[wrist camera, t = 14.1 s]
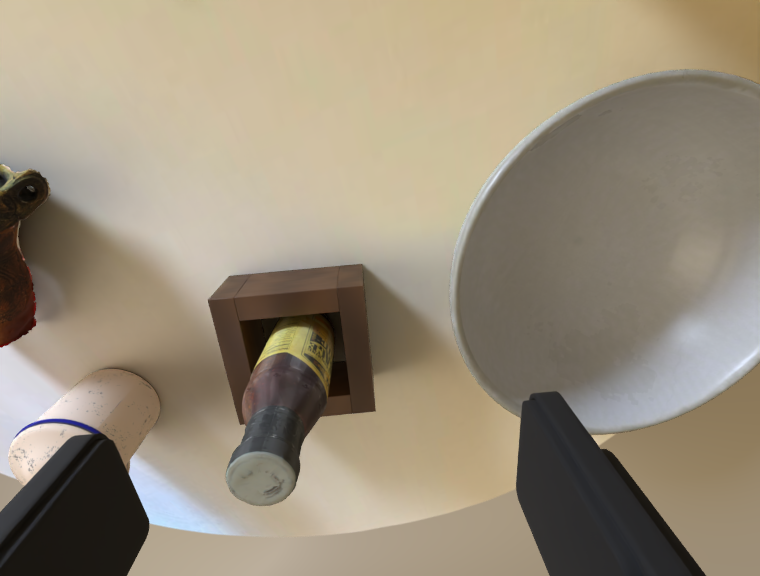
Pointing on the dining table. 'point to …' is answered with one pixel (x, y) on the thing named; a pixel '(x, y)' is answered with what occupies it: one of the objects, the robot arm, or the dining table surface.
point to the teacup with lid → (89, 420)
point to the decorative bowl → (619, 254)
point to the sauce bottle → (282, 408)
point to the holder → (292, 298)
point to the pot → (17, 251)
